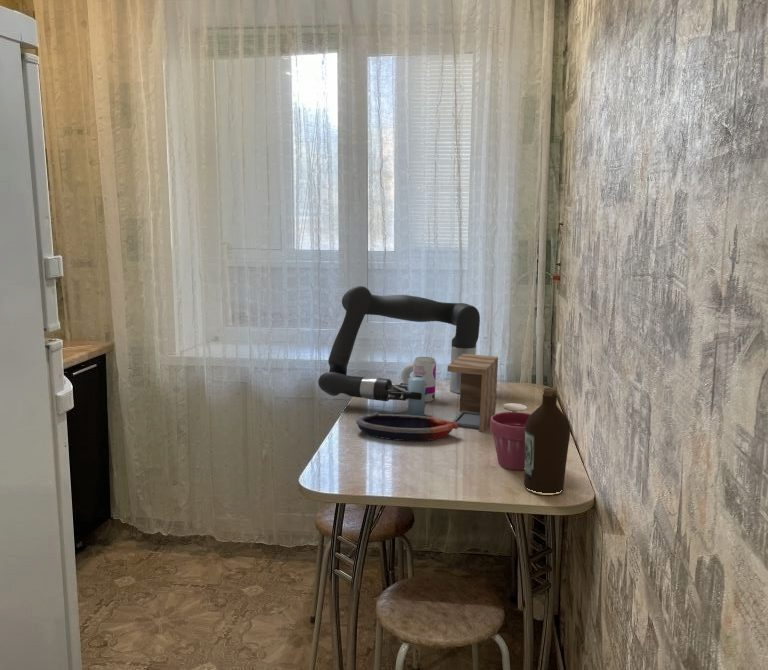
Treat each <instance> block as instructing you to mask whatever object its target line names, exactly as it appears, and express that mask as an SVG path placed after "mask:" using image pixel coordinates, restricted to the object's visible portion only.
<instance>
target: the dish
mask: <svg viewBox="0 0 768 670" xmlns="http://www.w3.org/2000/svg"><path fill="white" fill-rule="evenodd" d="M355 422H356V425H357V426H358V429H359V430H360V431H361V432H362V433H364V434H365V435H370V436H372V435H373V436H374V437H376V436H377V438H380V437H383V438H382V439H386V438H389V439H388V440H394V439H399V440H398V441H410V440H415V441H417V442H418V441H419V442H422V441H424V440H425V441H432V440H433V441H434V440H438V439H442V438H445V437H447V436H448V435H449V434H450V433H451V432H452V431H453V429H455V430H457V429H458V424H457V423H455V422H452V421H450V420H448V419H443V418H438V417H432V416H425V415H423V416H416V415H408V414H398V413H397V414H395V413H393V414H389V413H387V414H386V413H383V414H382V413H379V412H374V413H372V414H368V415H361V416H359V417H358V418H357V419H356V421H355ZM415 441H414V442H415ZM425 441H424V442H425Z"/></svg>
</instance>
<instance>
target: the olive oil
mask: <svg viewBox="0 0 768 670" xmlns="http://www.w3.org/2000/svg"><path fill="white" fill-rule="evenodd" d="M542 392H543V394H542V403H541V405H540V406H538V407H537V408H536V409H534V411H533V412H532V413H530V414H531V415H530V416H529V417H528V419H527V422H526V425H525V470H524V476H523V477H524V478H523V479H524V480H523V481H524V483H523V486H524V485H525V487H526V488H528V489H530V490H533V491H536V492H542V493H556V492H560V491H561V490H563V491H564V489H565V488H564V486H565V479H566V478H565V476H566V470H567V469H566V468H567V467H566V466H567V461H568V460H567V459H568V452H569V445H570V437H571V425H570V422H569V419H568V418H567V416H566V415H565V414H564V413H563V412H562V411H561V409H560V408H559V407H558V405H557V401H558V395H557V394H558V390H557V389H555V388H550V387H546V388H543V391H542ZM525 487H524V488H525Z"/></svg>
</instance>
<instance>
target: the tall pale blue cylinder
mask: <svg viewBox="0 0 768 670" xmlns="http://www.w3.org/2000/svg"><path fill="white" fill-rule="evenodd" d="M425 386H426V379H425V378H422V377H413V376H410V378H409V386H408V391H409V392H417V393H422V399H421V400H416V399H409V400H407V415H416V416H425V415H426V414H425V413H426V411H425V409H426V402H425Z"/></svg>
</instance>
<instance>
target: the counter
mask: <svg viewBox="0 0 768 670" xmlns="http://www.w3.org/2000/svg"><path fill="white" fill-rule="evenodd" d="M498 368H499V356H494V355H482V354H476V355H472V354H462V355H460V356H459V357H458V358H457V359H456V360H454V361H453V362H452V363H451V362H450V363H449V364H448V365H447V371H446V372H449V373H450V372H457V373H461V387H460V393H459V412H461V411H468V412H476V413H480V424H479V429H478V432H479V433H484V431H486V428H487V427H488V425H490V420H491V417H492V416H493V415H495V414H496V403H497V385H498V370H499V369H498Z"/></svg>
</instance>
